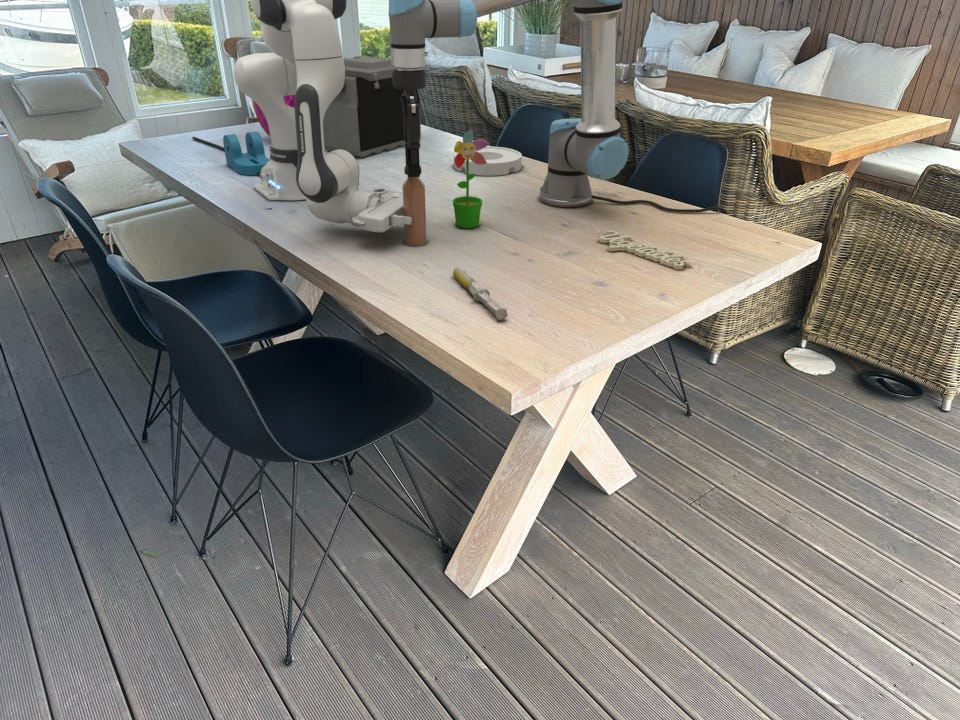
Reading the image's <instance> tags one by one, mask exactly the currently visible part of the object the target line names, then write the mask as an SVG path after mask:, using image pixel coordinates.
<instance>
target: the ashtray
mask: <svg viewBox="0 0 960 720" xmlns="http://www.w3.org/2000/svg"><path fill="white" fill-rule="evenodd" d="M477 152H479V153H480V154H482V156H483V157H484V158H485V160H486V162H487V163H486V164H482V165H478V164H475V163H474V162H472V161H471V159H469V174H475V176H483V177H485V176H487V177H489V176H490V177H491V176H492V177H493V176H503V175H504V176H505V175H509V174H510V173H517V172H519V171H520V170H521V169H522V165H523V164H522V163H523V162H522V161H523V154H522V153H521V152H520V151H518V150H515V149H513V148H509V147H502V146H490V145H488V146H486V147H485V148H483V149H481V150H478V151H477ZM457 154H459V153H457V152H455V151H454V152H453V169H455V170H456V171H458V172H464V173H465V174H466V159H465V162H464V164H463V165H462V166H461V167H460V168H457V166H456V164H455V157H456V156H457Z"/></svg>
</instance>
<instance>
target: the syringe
mask: <svg viewBox="0 0 960 720" xmlns="http://www.w3.org/2000/svg"><path fill="white" fill-rule="evenodd" d="M452 274H453V277H454V279H455V280H457V281H458V282H459V283H460V285H462V287H464V289H466V290H467V291H468V293H470V295H471V296H472V298H473V300H474V302H477V303H478V302H480V303H482V304H483V305H484V306H485V307H486V308H487V309H488V310H489V311H490V312H491V313H492V314H493V315H494V316H495V317H496V320H497V321H503V320H504V319H506V318H507V317H509V314H508V310H507V308H506V307H502V306H501V305H500V303H498V302H497V301H496V300H494V299H493V298H492V297H491V296H490V295H491V293H490V290H488V289H486V288H483V287H482V286H481V285H480V284H479V283H478V282H477V281H476V280H474V278H473V277H471V275H469V274H468V273H467V272H466V270H465V269H464V268H463V267H462V266H456V267H454V268H453V271H452Z"/></svg>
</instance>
